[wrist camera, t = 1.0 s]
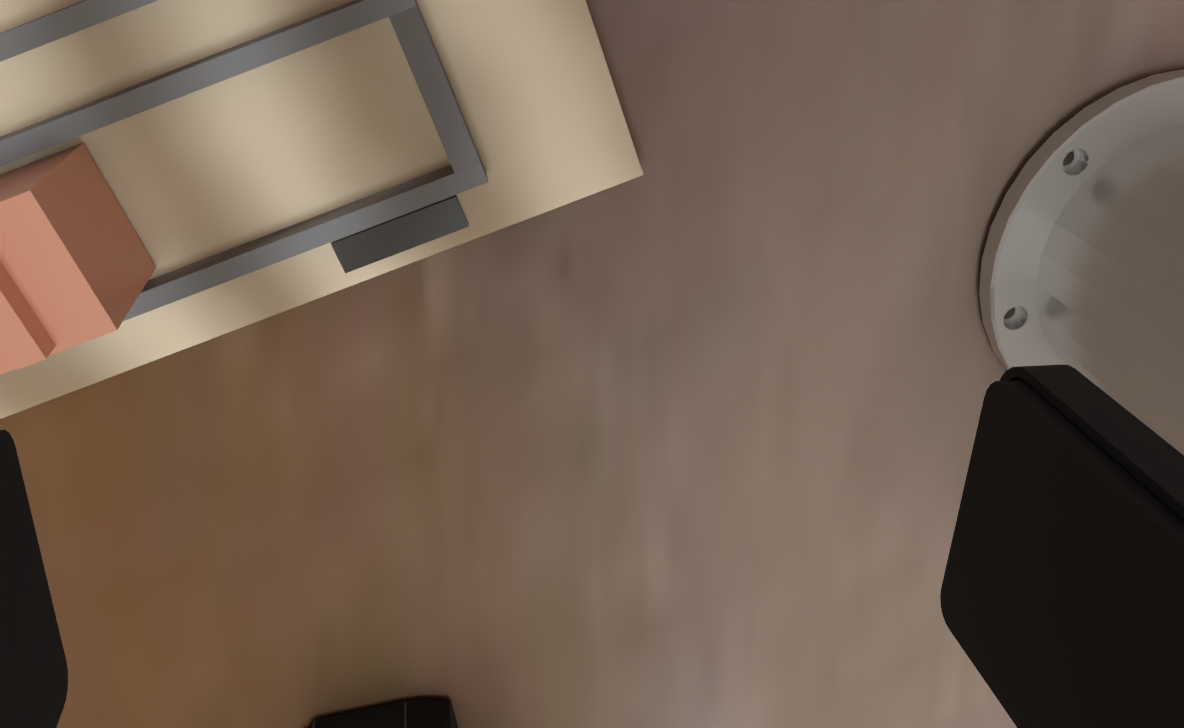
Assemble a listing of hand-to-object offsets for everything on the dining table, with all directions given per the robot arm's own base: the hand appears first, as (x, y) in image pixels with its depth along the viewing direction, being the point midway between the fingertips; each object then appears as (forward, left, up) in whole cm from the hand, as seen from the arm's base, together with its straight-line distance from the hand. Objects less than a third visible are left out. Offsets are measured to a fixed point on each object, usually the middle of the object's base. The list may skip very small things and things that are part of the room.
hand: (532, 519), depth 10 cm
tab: (+13, 0, -23) cm, 26 cm away
